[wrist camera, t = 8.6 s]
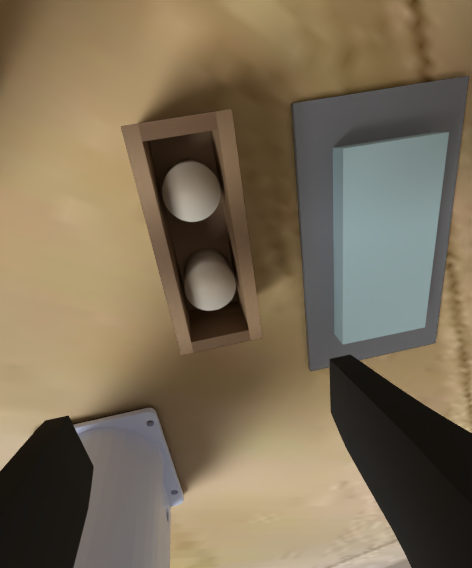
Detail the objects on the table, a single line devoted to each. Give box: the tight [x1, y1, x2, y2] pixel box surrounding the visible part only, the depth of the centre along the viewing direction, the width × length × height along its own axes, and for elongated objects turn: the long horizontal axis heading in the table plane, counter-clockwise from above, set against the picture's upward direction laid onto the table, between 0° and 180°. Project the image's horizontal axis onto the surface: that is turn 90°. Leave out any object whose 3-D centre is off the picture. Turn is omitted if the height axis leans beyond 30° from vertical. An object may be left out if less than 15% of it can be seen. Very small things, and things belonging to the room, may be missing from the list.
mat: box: [291, 76, 469, 371], centre depth 20 cm, size 16×9×1 cm, turn 9°
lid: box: [333, 132, 449, 344], centre depth 19 cm, size 11×5×1 cm, turn 8°
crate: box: [121, 109, 263, 355], centre depth 16 cm, size 10×4×4 cm, turn 9°
